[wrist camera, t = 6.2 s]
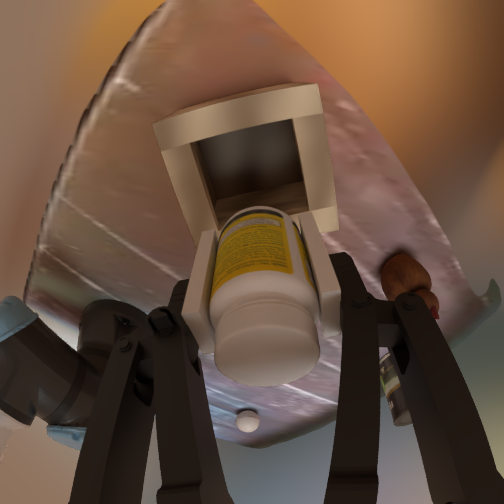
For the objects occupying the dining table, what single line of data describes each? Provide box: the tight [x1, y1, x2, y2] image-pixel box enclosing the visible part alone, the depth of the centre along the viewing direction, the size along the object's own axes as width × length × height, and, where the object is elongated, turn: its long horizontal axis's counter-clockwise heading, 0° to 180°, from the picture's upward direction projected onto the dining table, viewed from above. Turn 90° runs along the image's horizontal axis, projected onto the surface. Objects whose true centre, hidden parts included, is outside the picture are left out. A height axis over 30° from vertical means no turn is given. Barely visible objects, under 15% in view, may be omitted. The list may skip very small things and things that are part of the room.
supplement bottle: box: [209, 206, 320, 386], centre depth 14 cm, size 5×5×8 cm
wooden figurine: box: [381, 254, 439, 321], centre depth 34 cm, size 7×6×15 cm
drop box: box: [152, 82, 339, 249], centre depth 26 cm, size 12×12×11 cm
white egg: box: [234, 410, 260, 432], centre depth 60 cm, size 8×6×6 cm
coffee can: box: [380, 353, 412, 426], centre depth 48 cm, size 10×10×14 cm
